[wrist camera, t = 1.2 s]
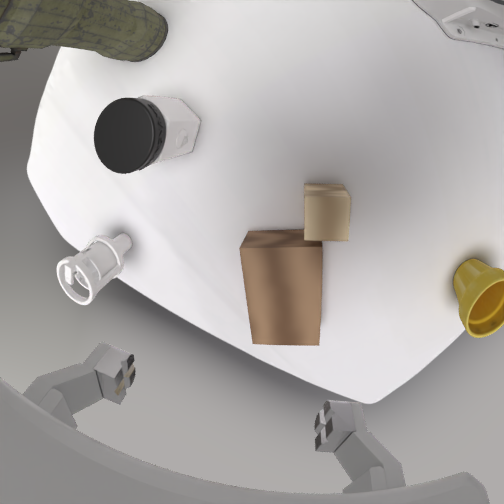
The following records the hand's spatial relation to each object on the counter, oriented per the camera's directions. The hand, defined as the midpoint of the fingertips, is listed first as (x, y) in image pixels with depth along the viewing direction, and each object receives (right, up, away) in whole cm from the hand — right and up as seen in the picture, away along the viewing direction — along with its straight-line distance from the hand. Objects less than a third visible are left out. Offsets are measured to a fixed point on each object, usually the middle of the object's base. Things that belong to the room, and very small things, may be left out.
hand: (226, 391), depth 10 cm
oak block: (+10, +12, +25) cm, 30 cm away
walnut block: (+6, +1, +32) cm, 32 cm away
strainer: (-21, +7, +34) cm, 41 cm away
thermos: (-15, +37, +18) cm, 44 cm away
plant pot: (+37, +2, +25) cm, 45 cm away
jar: (-10, +22, +25) cm, 35 cm away
